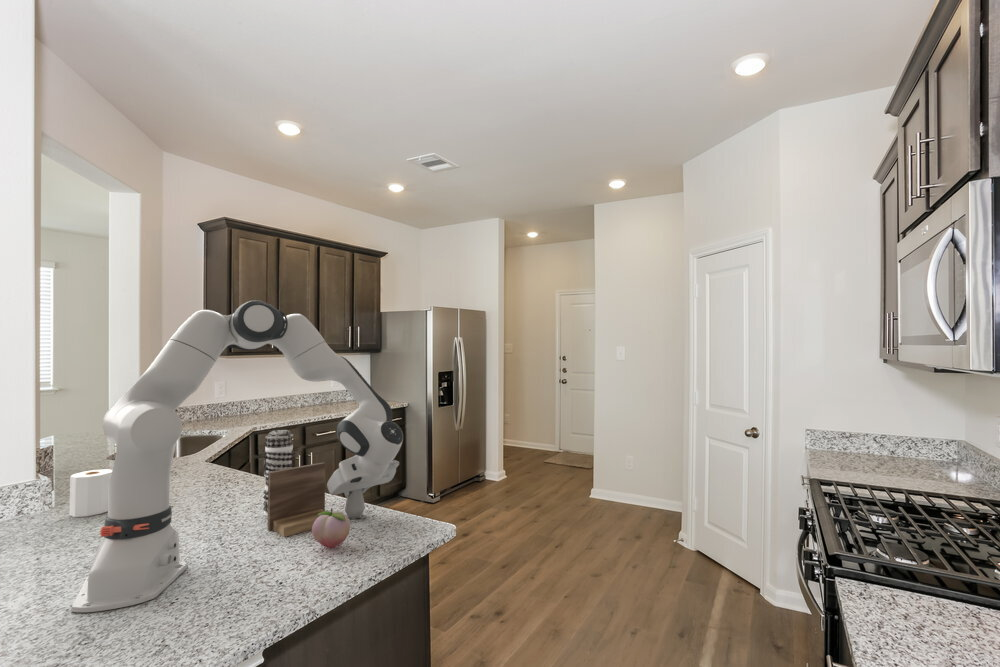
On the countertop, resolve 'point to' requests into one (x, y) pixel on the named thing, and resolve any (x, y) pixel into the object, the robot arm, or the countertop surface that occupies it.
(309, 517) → the cleat board
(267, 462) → the decorative candle
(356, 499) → the salt shaker
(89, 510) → the toilet paper
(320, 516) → the decorative fruit
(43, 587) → the countertop surface
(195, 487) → the countertop surface
